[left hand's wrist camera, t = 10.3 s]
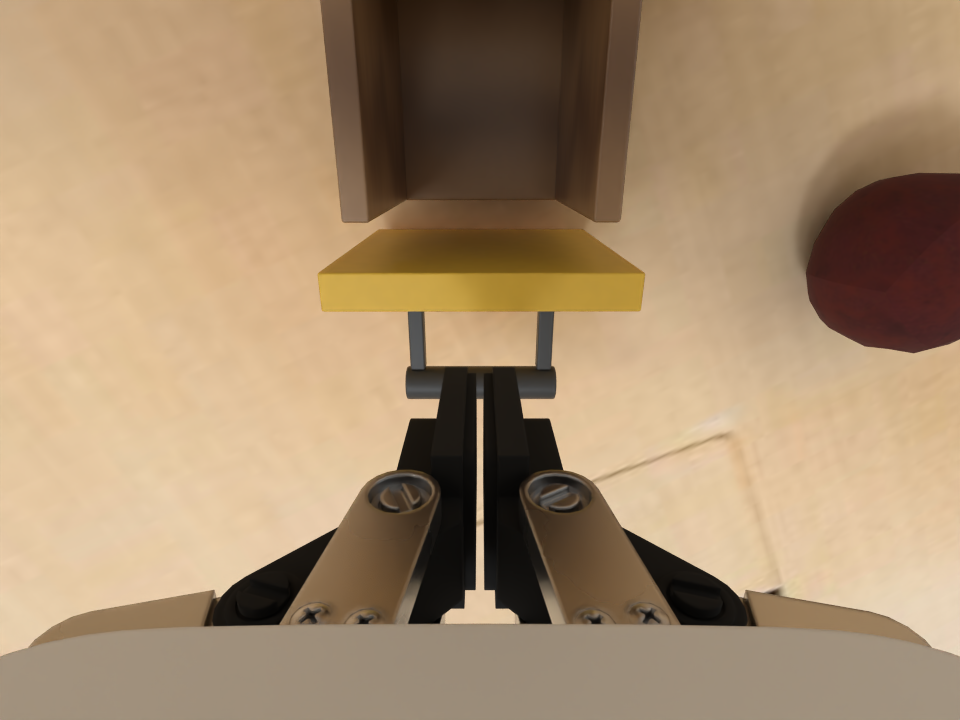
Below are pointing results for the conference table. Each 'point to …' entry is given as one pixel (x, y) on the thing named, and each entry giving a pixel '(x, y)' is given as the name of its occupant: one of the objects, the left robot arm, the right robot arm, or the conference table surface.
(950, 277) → the potato
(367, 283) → the drawer
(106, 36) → the conference table surface
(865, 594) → the conference table surface
